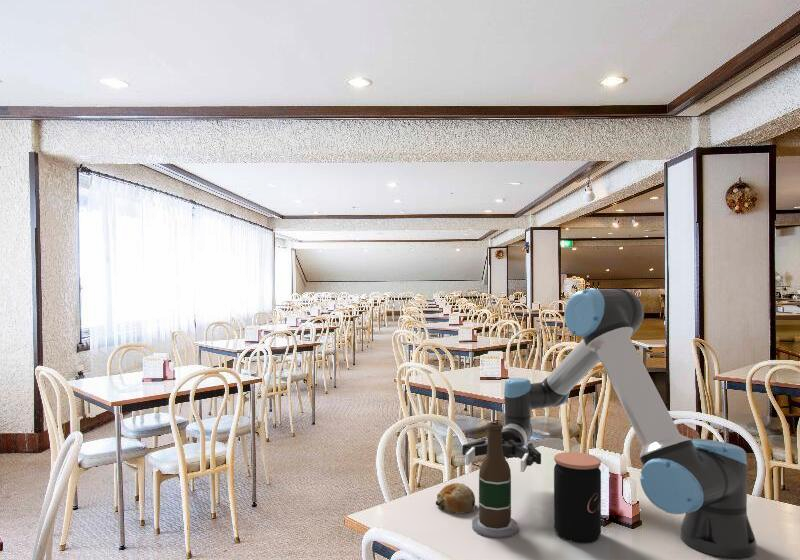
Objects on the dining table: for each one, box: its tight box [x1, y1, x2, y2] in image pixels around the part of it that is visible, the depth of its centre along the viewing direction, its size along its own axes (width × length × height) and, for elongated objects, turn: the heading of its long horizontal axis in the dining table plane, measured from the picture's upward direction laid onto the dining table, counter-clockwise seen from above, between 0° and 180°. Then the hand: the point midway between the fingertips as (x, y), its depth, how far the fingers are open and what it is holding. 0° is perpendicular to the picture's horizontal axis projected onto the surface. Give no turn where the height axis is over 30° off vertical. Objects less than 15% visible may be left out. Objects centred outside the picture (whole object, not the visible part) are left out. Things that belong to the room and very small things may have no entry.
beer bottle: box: [478, 422, 512, 529], centre depth 140 cm, size 8×8×24 cm
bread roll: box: [435, 482, 476, 514], centre depth 153 cm, size 10×10×8 cm
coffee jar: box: [553, 451, 602, 544], centre depth 136 cm, size 11×11×18 cm
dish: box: [471, 515, 519, 539], centre depth 140 cm, size 11×11×1 cm
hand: (493, 463), depth 140 cm, fingers open, 13 cm apart
